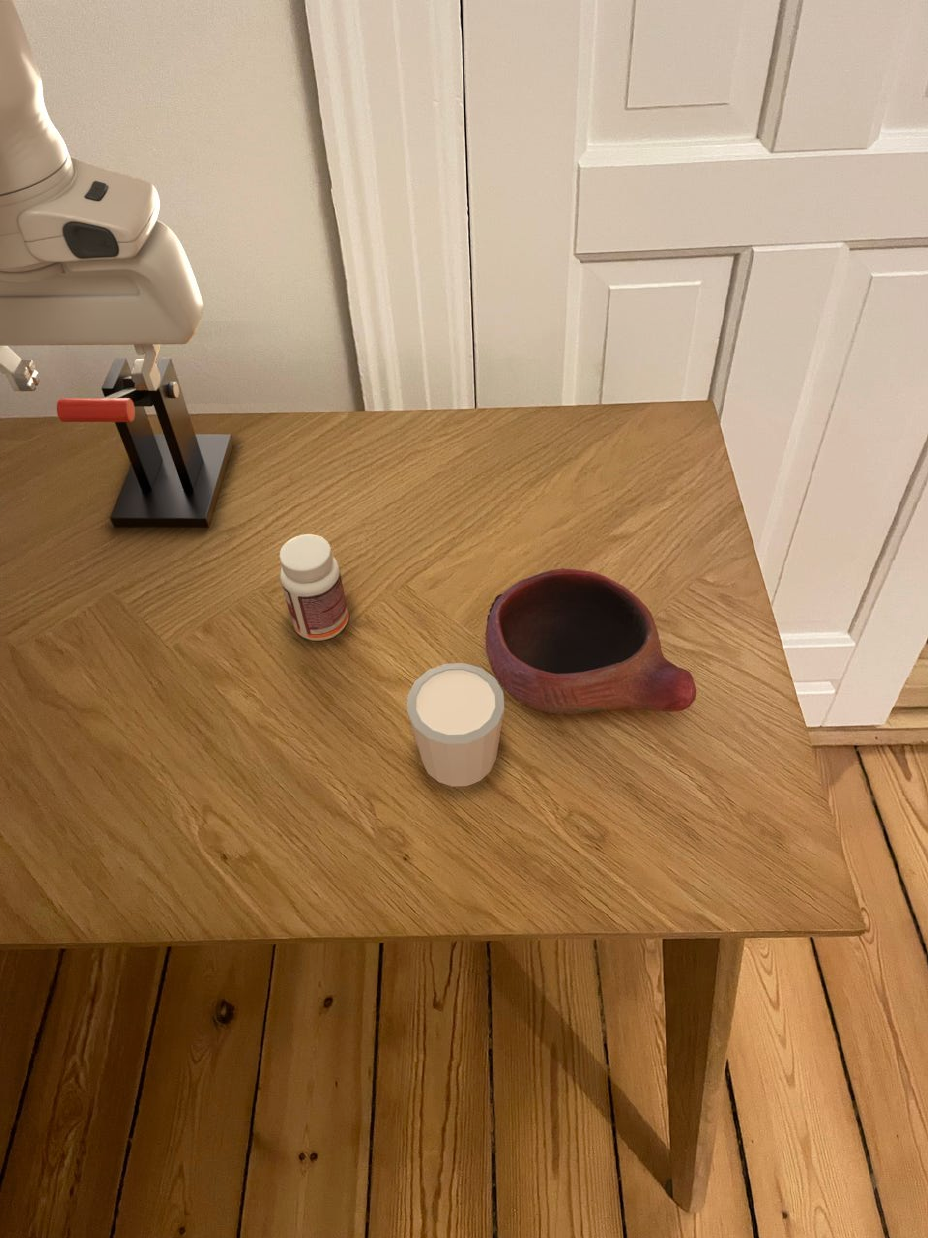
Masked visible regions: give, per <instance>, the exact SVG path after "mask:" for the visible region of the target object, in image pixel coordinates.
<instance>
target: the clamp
mask: <svg viewBox="0 0 928 1238" xmlns="http://www.w3.org/2000/svg"><path fill="white" fill-rule="evenodd" d="M130 367H131V366H130V365H129V362H128V359H127V357H116V358H114V360H113V362H112V365H111V367H110V369H109V370H108V373H107V376H106V377H105V380H104V381H103V384H102V386H101V392H102V395H103V396H104V397H107V396H109V395H112V394H114V393H117V392H119V391H121V390H124V384H123V378H126V377H128V376H130V372H131V370H132V369H131V368H130ZM157 367H158V370H159V373H160V383H159V386H158V388H157V390H156V391H149V394H150V397H151V399H152V402H153V408H154V411H155V414H156V416H157V420H158V422H159V425H160V427H161V430H162V433H154V431H153V428H152V425H151V423H150V420H149V416H148V415H147V412H146V409H145V407H135V417H134V420H133V421H132V422H114V424H115V427H116V429H117V431H118V434H119V436H120V440H121V442H122V445H123V447H124V449H125V452H126V454H127V457H128V460H129V462H130V466H129V468H128V471H127V473H126V476H125V479H124V481H123V484H122V485H121V487H120V488H121V489H120V491H119V493H118V496H117V499H116V501H115V504H114V507H113V509H112V511H111V513H110V517H109V519H110V522H111V524H112V527H114V528H186V529H187V528H191V529H192V528H195V529H196V528H198V529H199V528H200V529H203V528H204V529H205V528H207V529H208V528H210V525H211V521H212V518H213V515H214V511H215V509H216V504H217V501H218V498H219V494H220V490H221V487H222V484H223V482H224V477H225V474H226V471H227V467H228V464H229V461H230V457H231V454H232V451H233V448H234V444H235V442H234V439H233V435H232V434H231V433H225V434H222V433H212V434H210V433H207V434H206V433H198V434H197V433H195V429H194V426H193V422H192V420H191V416H190V414H189V410H188V407H187V403H186V401H185V397H184V395H183V391H182V388H181V384H180V381H179V378H178V375H177V372H176V370H175V366H174V363H173V360H172V358H171V357H160V358H159V360H158V362H157ZM104 397H103V398H104Z"/></svg>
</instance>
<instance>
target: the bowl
mask: <svg viewBox="0 0 928 1238" xmlns="http://www.w3.org/2000/svg"><path fill="white" fill-rule="evenodd" d="M486 619H487V620H486V628H485V653H486V656H487V660H488V663H489V665H490V667H491V671H492V672H493V674H494V676H495V679H496V680H497V682H498V684H499V685H500V687H501V688H503V689H504V690H505V692H507V693H508V694H509V695H510V696H511V697H512V698H513V699H515V700H516V701H518V702H520V703H521V704H523V705H525V706H527V707H528V708H531V709H534V710H536V711H540V712H543V713H549V714H554V715H555V714H560V715H561V714H564V715H565V714H567V715H569V714H585V713H592V712H593V713H594V712H601V711H610V710H611V711H612V710H619V709H621V710H622V709H628V710H641V711H642V710H643V711H650V712H663V713H665V712H666V713H671V712H680V711H684V710H686V709H688V708H690V707H691V706H692V705H693V704H694V702H695V701H696V698H697V686H696V683H695V678H694V677H693V675H692V673H691V671H689V670H688V669H685V668H683V667H680V666H677V665H676V664H674V663H672V662H671V661H670V660H668V659H667V658H666V657H665V656H664V653H663V649H662V643H661V639H660V634H659V631H658V628H657V624H656V622H655V618H654V617H653V615H652V613H651V611H650V609H649V608H648V607H647V606H646V605H645V604H644V602H643V601H642V600H641V599H640V598H639V597H638V596H637V595H635V594H634V593H633V592H632V591H631V590H630V589H629V588H627V587H626V586H624V585H622V584H620V583H619V582H616V581H615V580H613V579H611V578H610V577H607V576H605V575H604V574H601V573H598V572H595V571H591V570H584V569H575V568H558V569H551V570H546V571H544V572H541V573H538V574H534V575H532V576H529V577H527V578H524V579H522V580H518V582H516V583H515V584H513V585H512V586H511V587H509V588H507V590H505V591H503V593H500V594H498V595H496V596H495V597H494V600H493V602H492V603H491V607H490V608H489V614H488V615H487V618H486Z"/></svg>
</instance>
